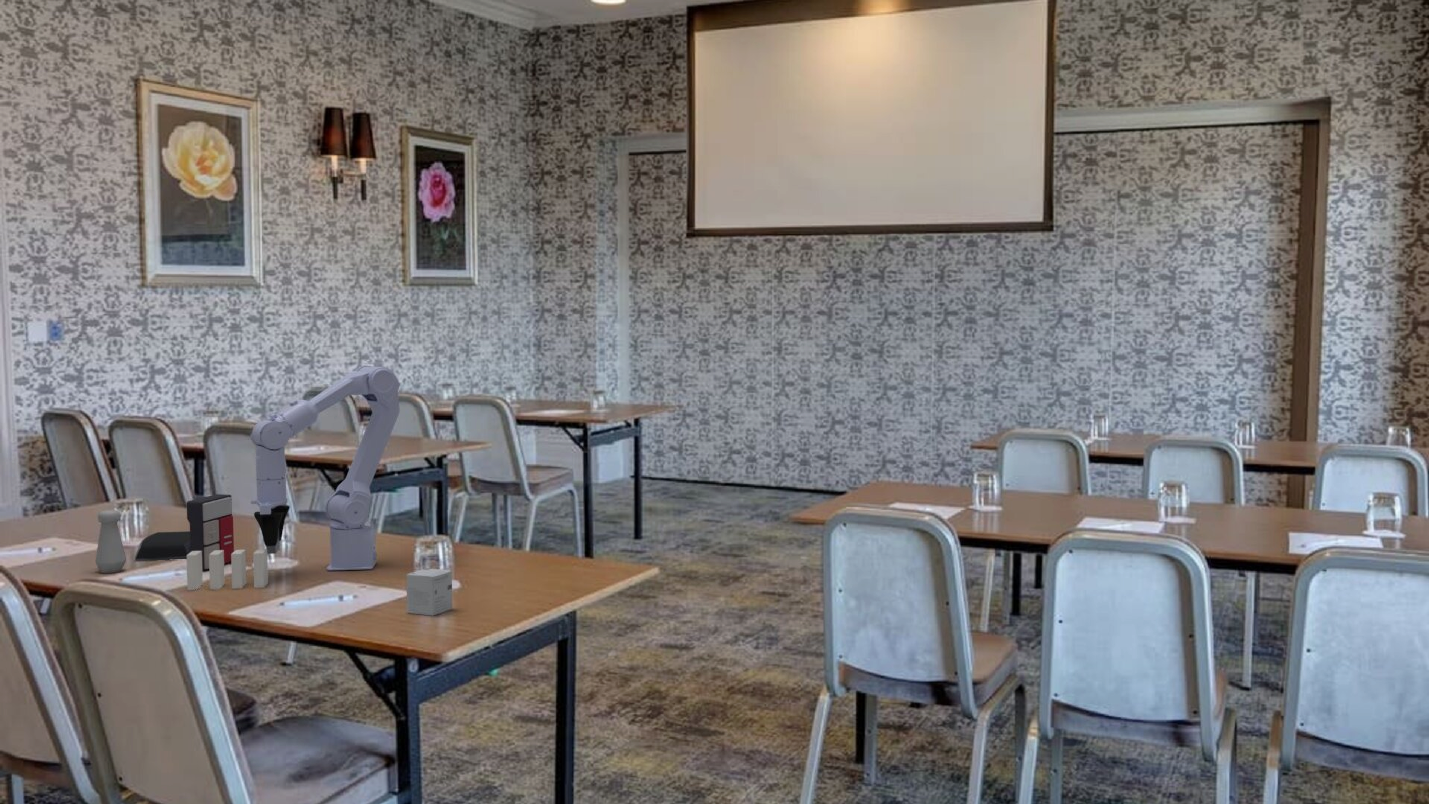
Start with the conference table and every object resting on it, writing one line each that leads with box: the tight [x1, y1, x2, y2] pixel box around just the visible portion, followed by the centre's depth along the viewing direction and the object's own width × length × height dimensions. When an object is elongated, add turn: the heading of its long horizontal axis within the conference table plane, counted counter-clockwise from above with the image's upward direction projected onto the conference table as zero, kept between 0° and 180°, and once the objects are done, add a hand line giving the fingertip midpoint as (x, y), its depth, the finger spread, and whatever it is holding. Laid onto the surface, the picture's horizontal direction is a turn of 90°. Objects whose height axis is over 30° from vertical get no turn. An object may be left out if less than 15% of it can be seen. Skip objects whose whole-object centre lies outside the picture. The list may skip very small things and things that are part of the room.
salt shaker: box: [95, 509, 127, 574], centre depth 257 cm, size 6×6×13 cm
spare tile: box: [265, 532, 281, 555], centre depth 251 cm, size 2×4×7 cm, turn 10°
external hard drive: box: [133, 530, 191, 563], centre depth 278 cm, size 13×19×4 cm
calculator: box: [186, 493, 235, 572], centre depth 262 cm, size 11×4×15 cm, turn 168°
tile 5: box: [186, 551, 204, 591], centre depth 242 cm, size 2×4×7 cm, turn 9°
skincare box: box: [406, 567, 453, 616], centre depth 224 cm, size 6×6×7 cm
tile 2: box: [252, 548, 269, 589], centre depth 244 cm, size 2×4×7 cm, turn 9°
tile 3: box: [230, 549, 247, 590], centre depth 243 cm, size 2×4×7 cm, turn 10°
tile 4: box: [208, 550, 226, 590], centre depth 243 cm, size 2×4×7 cm, turn 10°
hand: (273, 543), depth 251 cm, fingers closed on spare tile, 4 cm apart
